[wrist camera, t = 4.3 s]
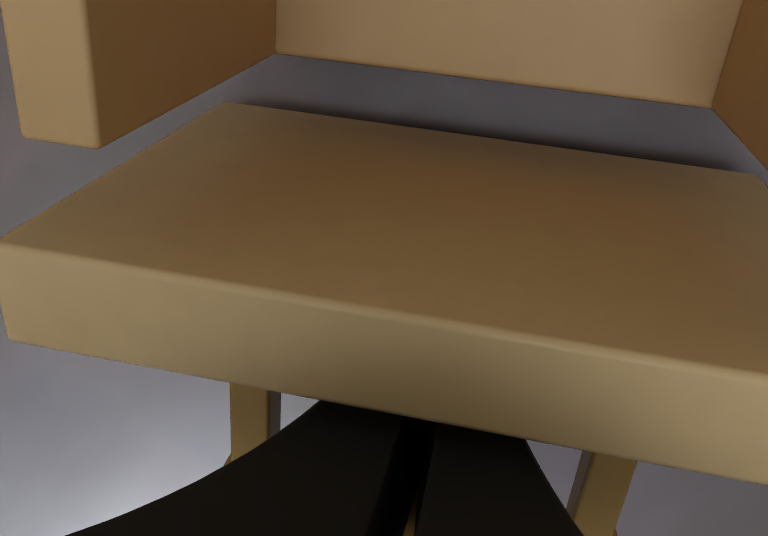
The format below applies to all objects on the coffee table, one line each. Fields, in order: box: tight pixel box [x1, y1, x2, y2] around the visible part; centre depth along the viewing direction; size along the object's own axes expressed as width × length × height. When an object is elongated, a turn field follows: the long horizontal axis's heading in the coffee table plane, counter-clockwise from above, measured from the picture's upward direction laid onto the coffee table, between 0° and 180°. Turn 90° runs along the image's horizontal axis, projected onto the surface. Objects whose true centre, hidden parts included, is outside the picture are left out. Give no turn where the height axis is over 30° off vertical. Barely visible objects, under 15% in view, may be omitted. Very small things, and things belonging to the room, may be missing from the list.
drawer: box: [0, 0, 768, 536], centre depth 9 cm, size 12×9×6 cm
